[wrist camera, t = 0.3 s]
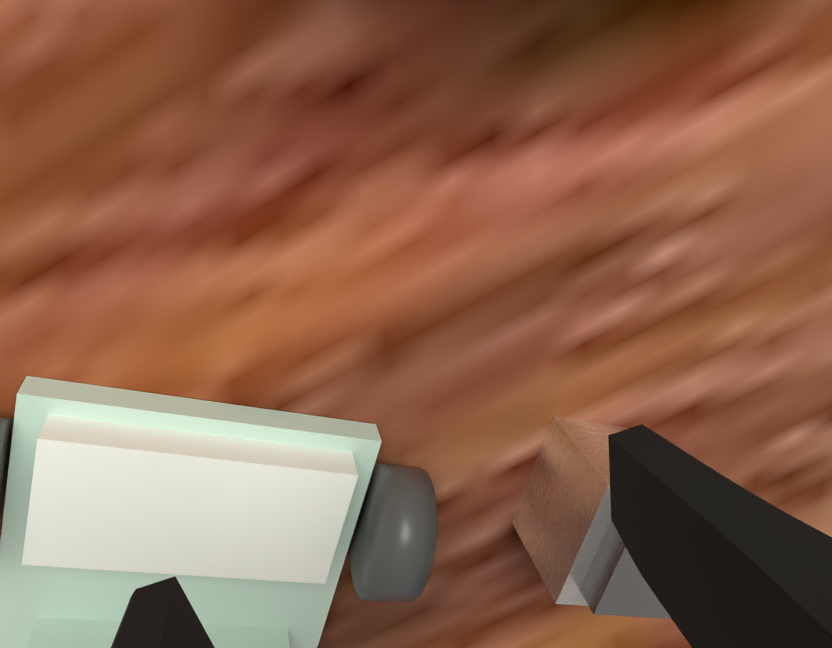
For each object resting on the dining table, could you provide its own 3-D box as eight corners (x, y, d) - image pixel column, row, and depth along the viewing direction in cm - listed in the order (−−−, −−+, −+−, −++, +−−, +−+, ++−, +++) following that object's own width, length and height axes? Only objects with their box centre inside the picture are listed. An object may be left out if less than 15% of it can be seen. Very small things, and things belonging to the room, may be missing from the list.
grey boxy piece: (605, 530, 27) (679, 634, 22) (511, 521, 26) (569, 629, 21) (651, 431, 25) (739, 520, 21) (553, 415, 24) (624, 507, 20)
